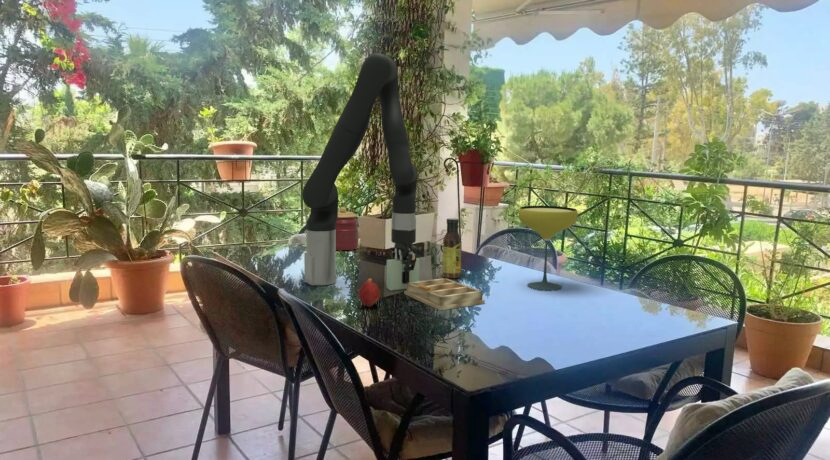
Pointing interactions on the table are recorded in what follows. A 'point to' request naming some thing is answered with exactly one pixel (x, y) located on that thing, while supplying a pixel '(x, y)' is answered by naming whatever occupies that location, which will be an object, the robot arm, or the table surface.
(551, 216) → the cocktail glass
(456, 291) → the rack
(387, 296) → the table surface
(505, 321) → the table surface
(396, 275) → the block
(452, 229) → the sauce bottle
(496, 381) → the table surface
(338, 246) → the canister
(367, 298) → the onion
